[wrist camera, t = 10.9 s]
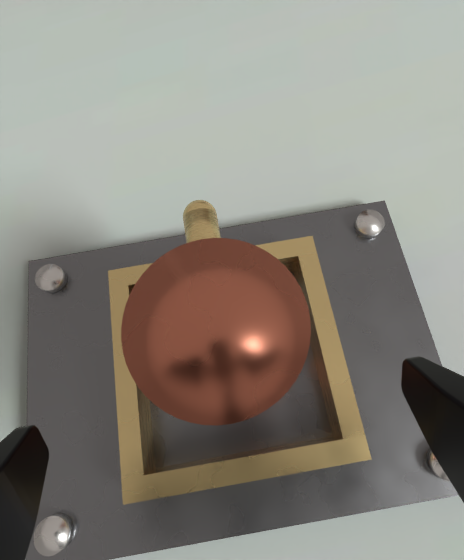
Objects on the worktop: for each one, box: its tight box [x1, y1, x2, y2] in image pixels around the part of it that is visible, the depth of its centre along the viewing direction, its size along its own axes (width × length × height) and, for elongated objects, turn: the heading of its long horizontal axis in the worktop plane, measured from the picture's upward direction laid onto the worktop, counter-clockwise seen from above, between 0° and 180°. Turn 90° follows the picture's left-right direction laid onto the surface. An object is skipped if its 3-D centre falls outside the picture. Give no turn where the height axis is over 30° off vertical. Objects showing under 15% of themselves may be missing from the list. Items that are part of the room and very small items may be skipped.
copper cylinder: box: [121, 200, 311, 426], centre depth 16 cm, size 8×6×10 cm
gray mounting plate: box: [25, 201, 459, 560], centre depth 20 cm, size 16×22×4 cm
